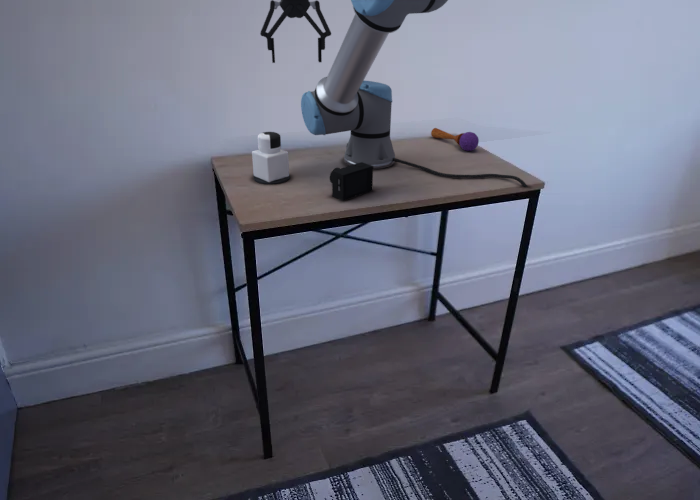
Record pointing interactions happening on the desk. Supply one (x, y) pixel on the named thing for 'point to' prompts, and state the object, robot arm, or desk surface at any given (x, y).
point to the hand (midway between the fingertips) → (296, 62)
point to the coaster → (272, 181)
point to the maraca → (459, 138)
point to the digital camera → (351, 181)
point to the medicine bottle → (270, 158)
